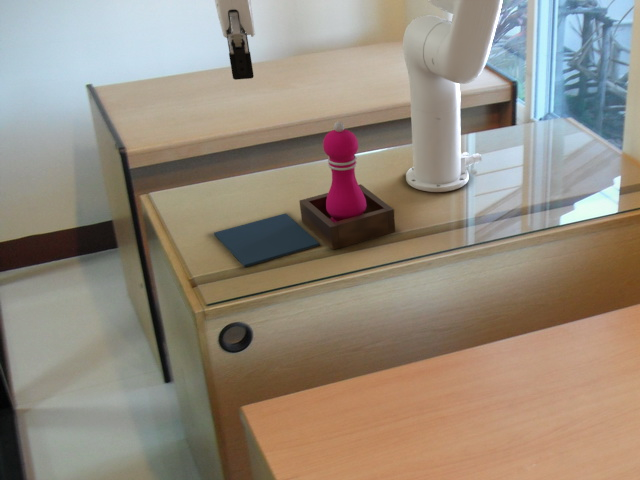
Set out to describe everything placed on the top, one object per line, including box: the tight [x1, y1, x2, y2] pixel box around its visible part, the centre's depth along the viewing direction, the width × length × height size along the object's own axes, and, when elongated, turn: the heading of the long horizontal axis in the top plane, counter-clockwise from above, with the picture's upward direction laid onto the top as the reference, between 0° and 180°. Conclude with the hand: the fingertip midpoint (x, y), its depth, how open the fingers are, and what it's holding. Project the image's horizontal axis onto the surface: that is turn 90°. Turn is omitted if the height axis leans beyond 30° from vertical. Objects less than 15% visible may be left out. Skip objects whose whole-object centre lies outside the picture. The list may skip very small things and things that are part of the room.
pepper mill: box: [322, 121, 367, 222], centre depth 166 cm, size 7×7×20 cm
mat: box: [213, 212, 320, 268], centre depth 167 cm, size 14×14×1 cm
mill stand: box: [298, 183, 396, 251], centre depth 171 cm, size 13×13×4 cm
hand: (241, 68), depth 152 cm, fingers open, 9 cm apart
